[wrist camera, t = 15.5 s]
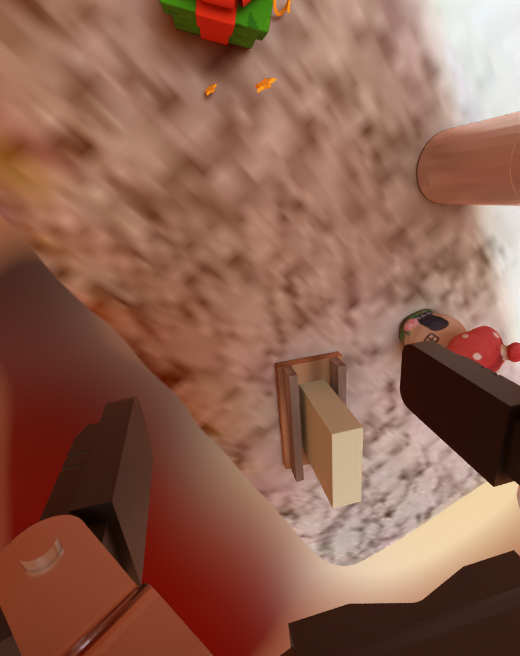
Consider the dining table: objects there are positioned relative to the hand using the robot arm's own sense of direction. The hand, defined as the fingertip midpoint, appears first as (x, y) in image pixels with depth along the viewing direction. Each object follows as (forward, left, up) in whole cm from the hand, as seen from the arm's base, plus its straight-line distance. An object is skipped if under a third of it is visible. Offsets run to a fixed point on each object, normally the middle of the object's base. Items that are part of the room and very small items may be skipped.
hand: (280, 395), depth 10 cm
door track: (-13, +28, -36) cm, 47 cm away
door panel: (-13, +28, -35) cm, 46 cm away
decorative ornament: (-32, +17, -36) cm, 51 cm away
